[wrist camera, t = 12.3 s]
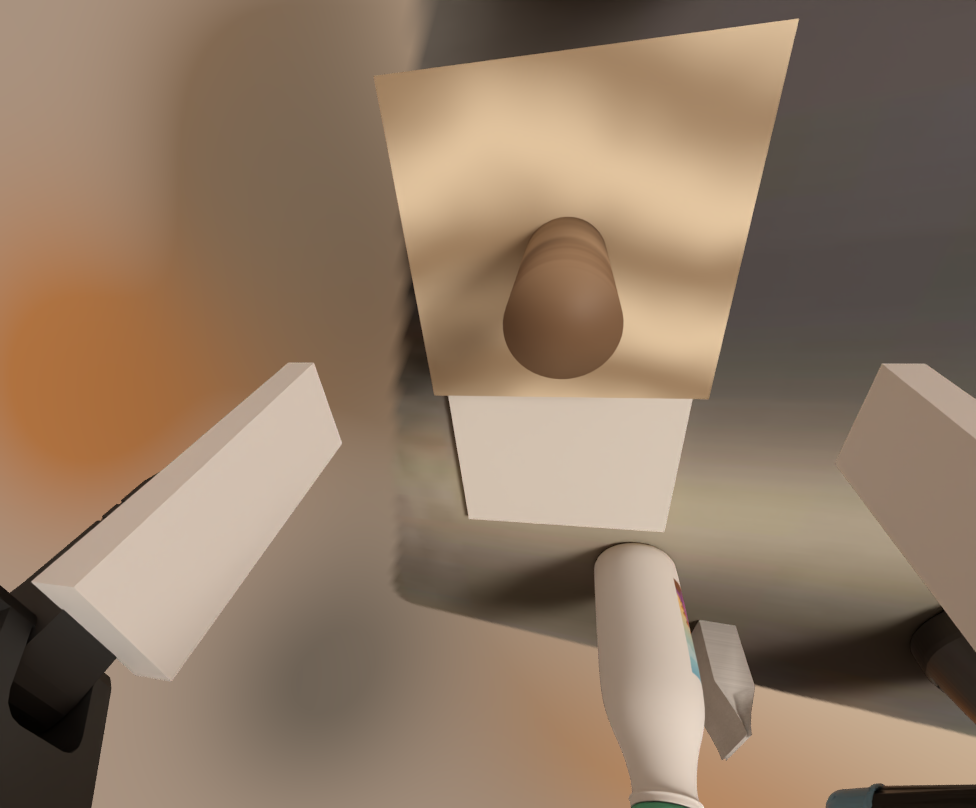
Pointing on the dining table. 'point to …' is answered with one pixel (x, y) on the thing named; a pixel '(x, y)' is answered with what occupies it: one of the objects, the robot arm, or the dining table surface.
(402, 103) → the lid
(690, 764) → the milk bottle
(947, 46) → the dining table surface
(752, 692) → the grey box
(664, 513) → the mat
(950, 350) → the dining table surface
